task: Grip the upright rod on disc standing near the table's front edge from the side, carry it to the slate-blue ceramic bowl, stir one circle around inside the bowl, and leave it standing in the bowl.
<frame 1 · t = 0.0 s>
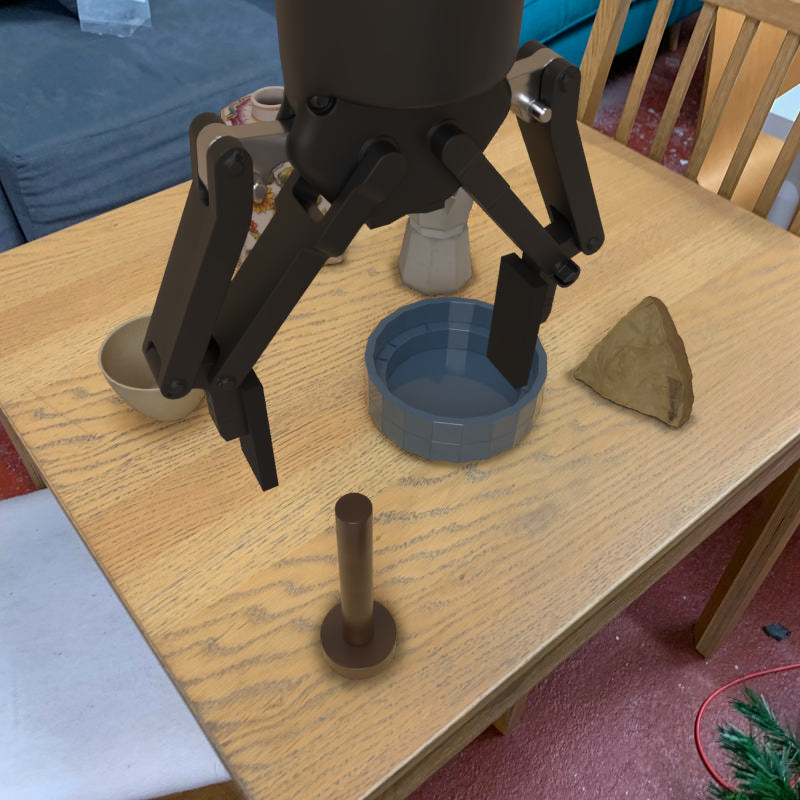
hand: (390, 416, 37), 26 cm above the table, tool pointing down, fingers open, 13 cm apart
decorative jar: (288, 242, 91), on the table
rock: (632, 399, 75), on the table
coffee maker: (432, 267, 88), on the table
flower pot: (172, 404, 73), on the table
upright rod on disc: (358, 643, 57), on the table
bowl: (451, 399, 74), on the table
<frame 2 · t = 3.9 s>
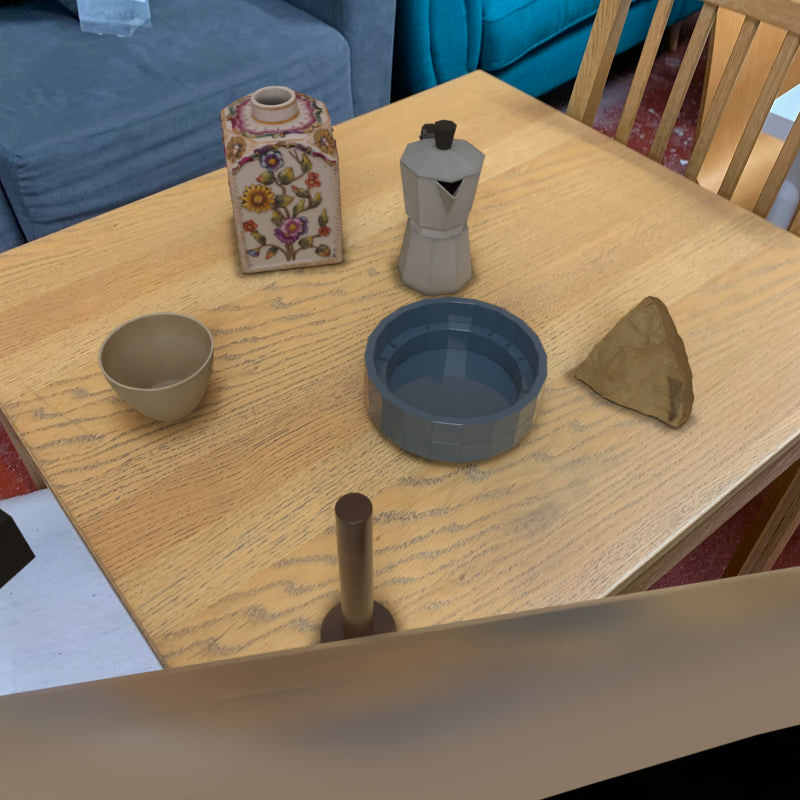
hand: (155, 627, 26), 30 cm above the table, tool horizontal, fingers open, 13 cm apart
nothing on the table moved.
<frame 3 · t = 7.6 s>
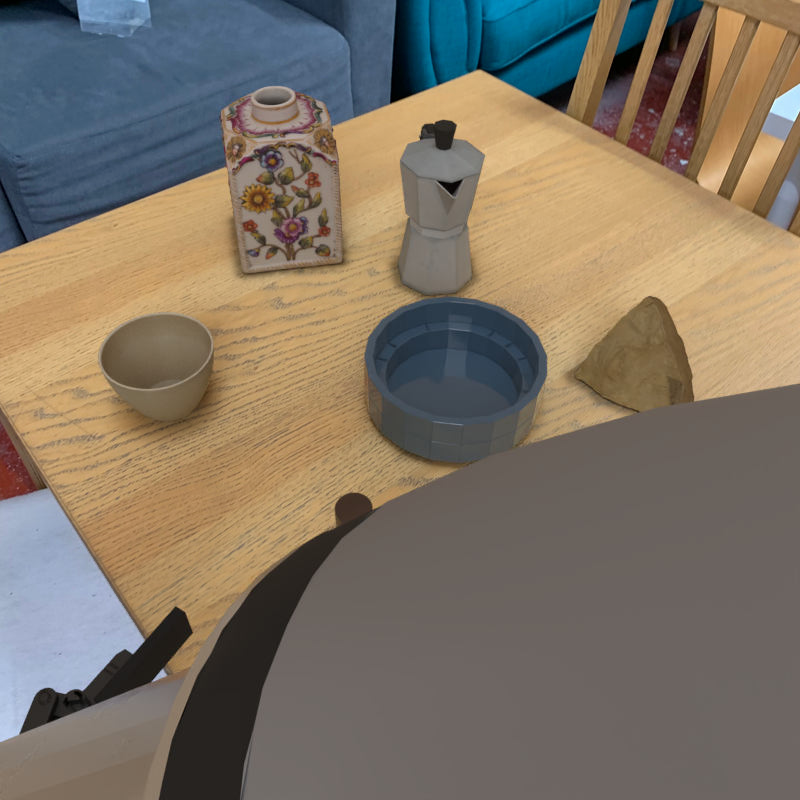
hand: (275, 676, 44), 11 cm above the table, tool horizontal, fingers open, 13 cm apart
nothing on the table moved.
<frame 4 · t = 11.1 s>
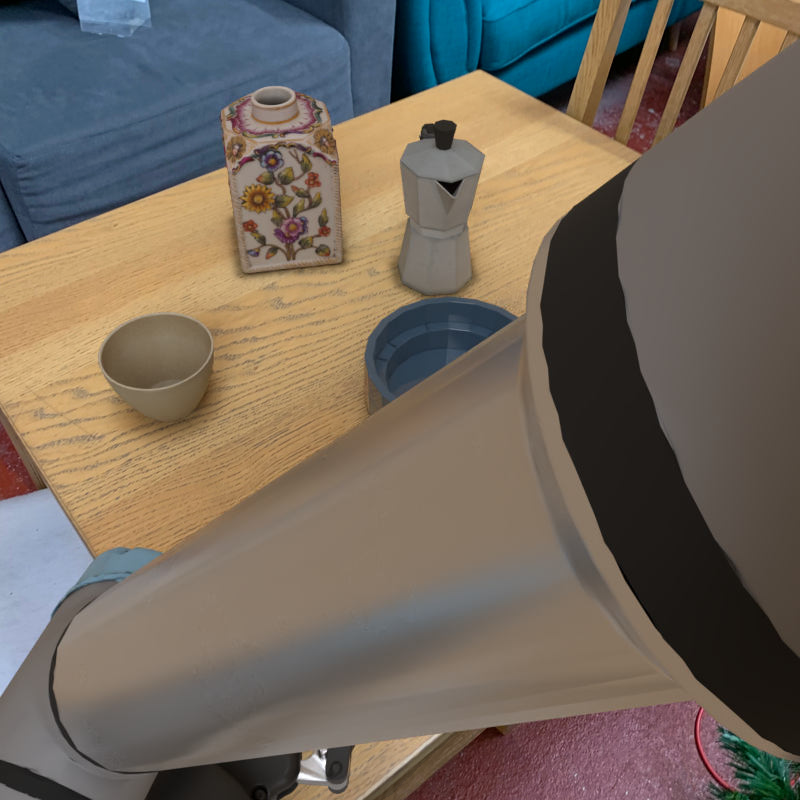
hand: (400, 515, 53), 10 cm above the table, tool horizontal, fingers closed on upright rod on disc, 2 cm apart
upright rod on disc: (359, 642, 57), on the table, touching gripper
everything else where it was.
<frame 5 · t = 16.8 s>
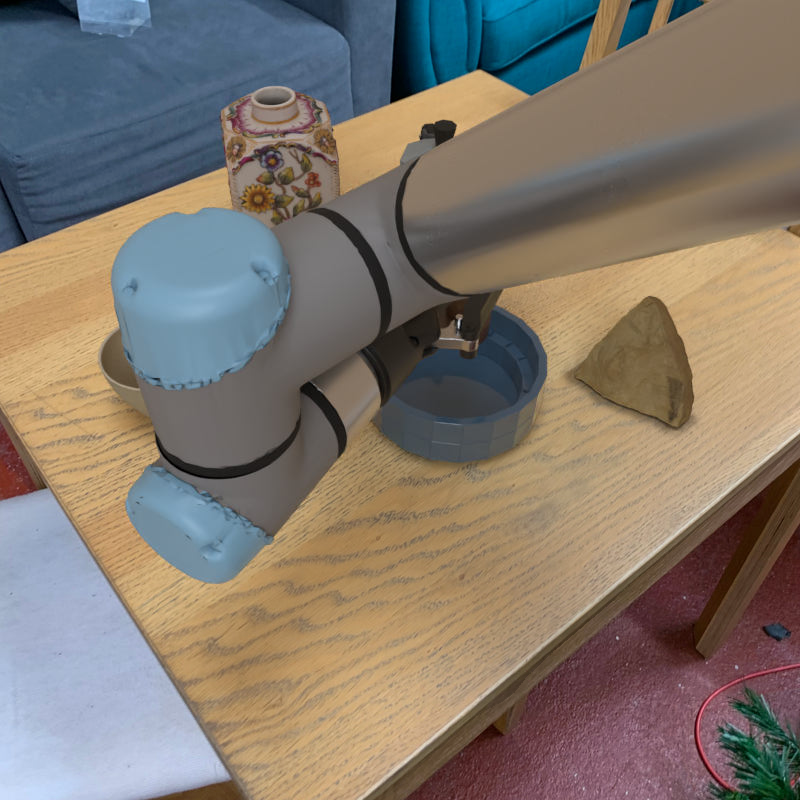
hand: (498, 199, 63), 20 cm above the table, tool horizontal, fingers closed on upright rod on disc, 2 cm apart
upright rod on disc: (456, 328, 67), point 10 cm above the table, touching gripper
everything else where it was.
when the fingers open (11 cm above the table, at t = 22.5 s): upright rod on disc stays where it is, resting on bowl.
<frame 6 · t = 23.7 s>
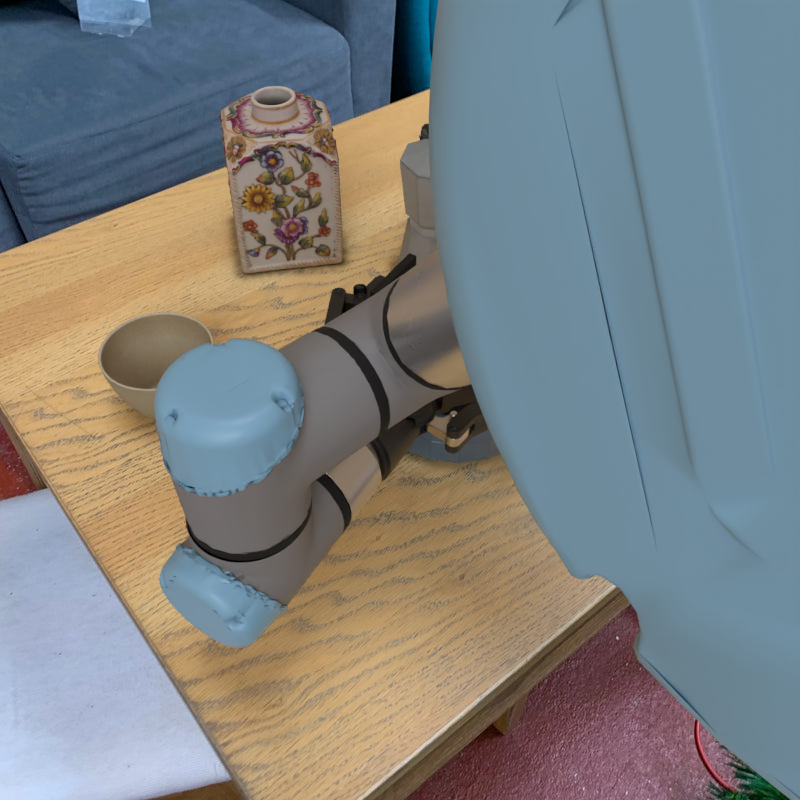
hand: (478, 292, 68), 11 cm above the table, tool horizontal, fingers open, 13 cm apart
upright rod on disc: (451, 393, 74), point 1 cm above the table, touching bowl
everything else where it was.
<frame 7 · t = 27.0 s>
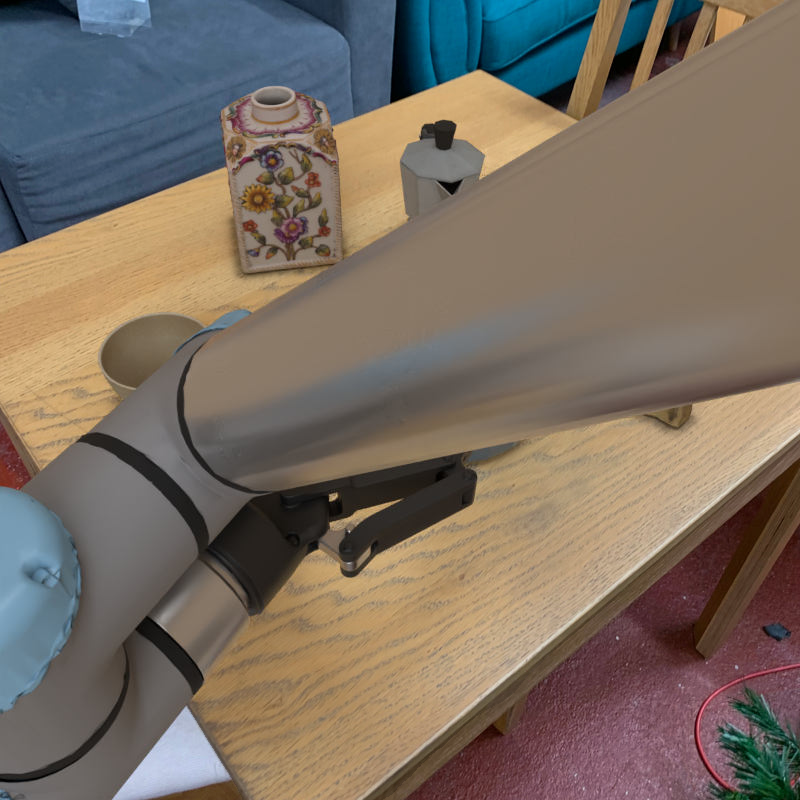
hand: (401, 356, 55), 16 cm above the table, tool horizontal, fingers open, 13 cm apart
nothing on the table moved.
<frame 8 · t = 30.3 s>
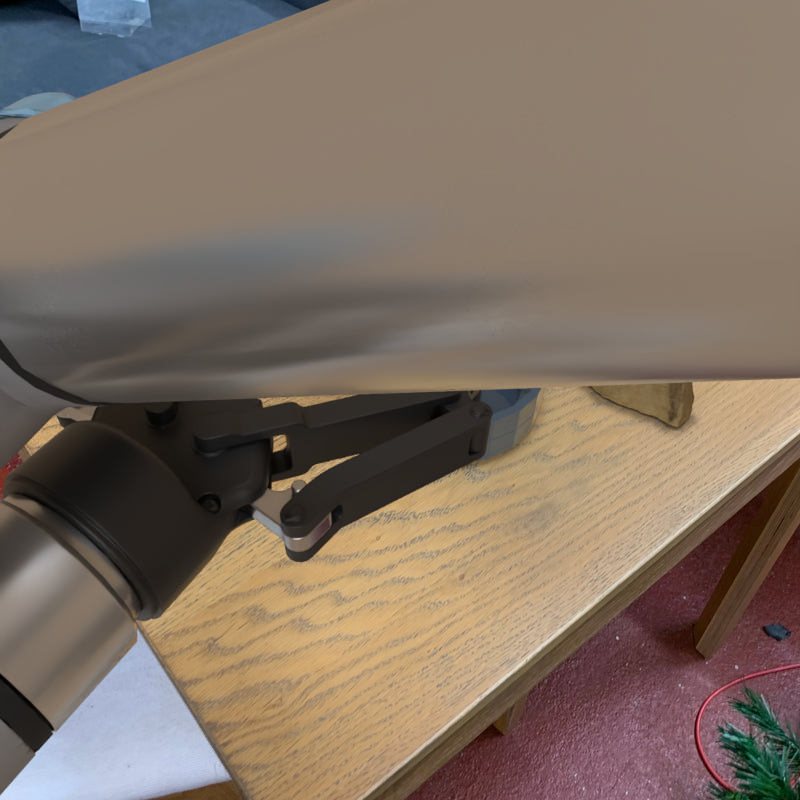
hand: (384, 259, 40), 30 cm above the table, tool horizontal, fingers open, 13 cm apart
nothing on the table moved.
at the end: upright rod on disc 0.0 cm off-centre in the bowl, point 0.8 cm above the bowl's base; upright rod on disc tilted 0°; the gripper is holding nothing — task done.
